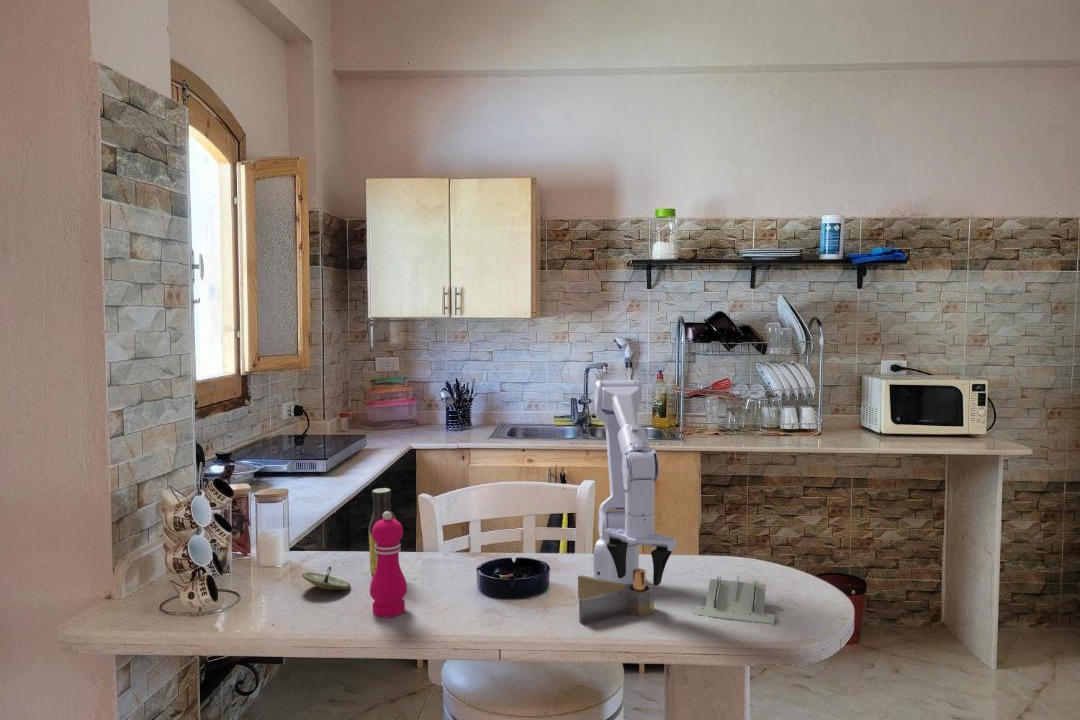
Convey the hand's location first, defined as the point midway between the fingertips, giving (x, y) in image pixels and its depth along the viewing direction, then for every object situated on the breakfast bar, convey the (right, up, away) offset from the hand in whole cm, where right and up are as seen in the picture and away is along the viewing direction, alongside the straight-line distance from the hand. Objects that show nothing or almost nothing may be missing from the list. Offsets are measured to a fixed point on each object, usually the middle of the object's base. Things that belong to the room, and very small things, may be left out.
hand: (639, 580), depth 158 cm
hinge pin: (0, -6, 0) cm, 6 cm away
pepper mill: (-49, -6, 0) cm, 50 cm away
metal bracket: (+19, -7, +1) cm, 20 cm away
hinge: (-7, -6, -1) cm, 9 cm away
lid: (-65, -6, +12) cm, 66 cm away
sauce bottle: (-54, -5, +19) cm, 58 cm away
